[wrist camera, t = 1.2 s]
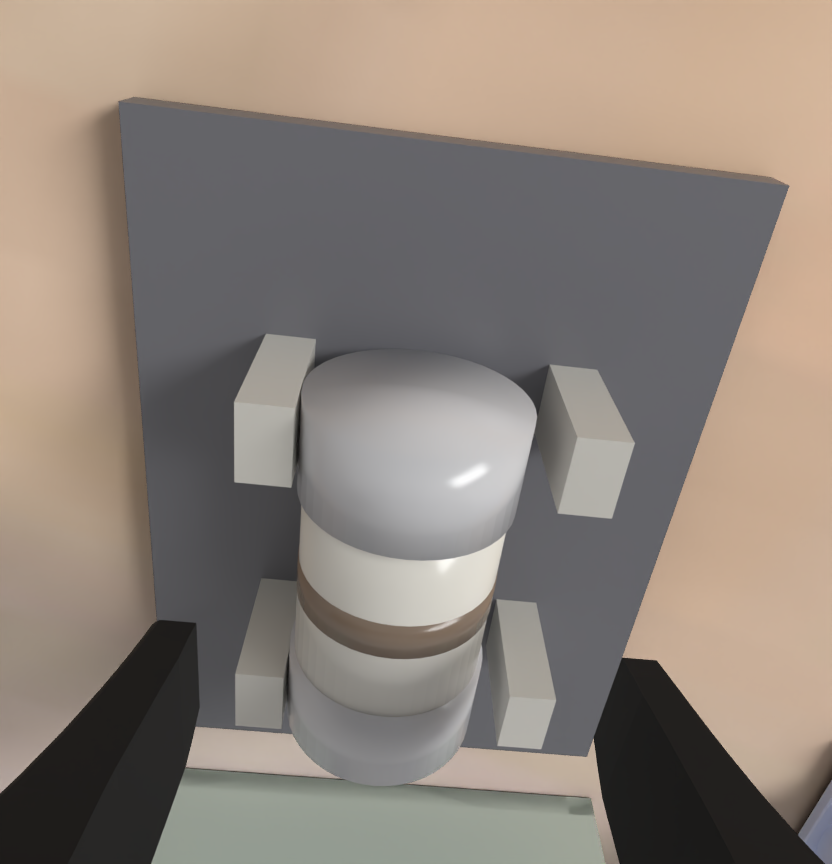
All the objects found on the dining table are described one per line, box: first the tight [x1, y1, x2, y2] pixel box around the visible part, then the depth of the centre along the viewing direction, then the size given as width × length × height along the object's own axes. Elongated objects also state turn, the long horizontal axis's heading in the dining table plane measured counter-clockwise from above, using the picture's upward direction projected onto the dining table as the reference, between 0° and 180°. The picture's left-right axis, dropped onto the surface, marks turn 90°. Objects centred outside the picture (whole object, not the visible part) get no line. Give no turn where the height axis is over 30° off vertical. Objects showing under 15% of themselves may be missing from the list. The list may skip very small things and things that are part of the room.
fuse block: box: [119, 97, 789, 757], centre depth 16 cm, size 12×16×4 cm
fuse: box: [287, 349, 537, 786], centre depth 15 cm, size 4×8×4 cm, turn 173°
